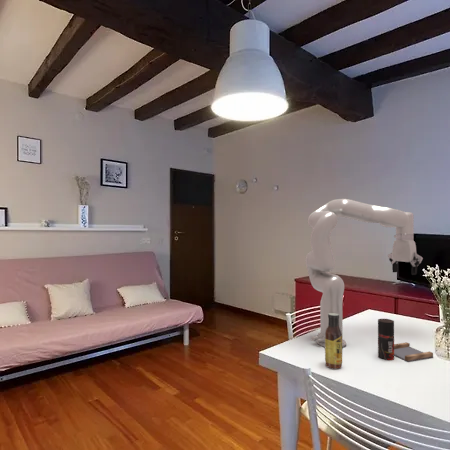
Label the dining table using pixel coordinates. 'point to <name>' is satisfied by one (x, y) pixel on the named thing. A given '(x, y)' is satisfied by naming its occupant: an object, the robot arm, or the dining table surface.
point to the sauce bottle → (333, 342)
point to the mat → (406, 353)
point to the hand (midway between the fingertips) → (404, 273)
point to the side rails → (413, 356)
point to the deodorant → (386, 339)
